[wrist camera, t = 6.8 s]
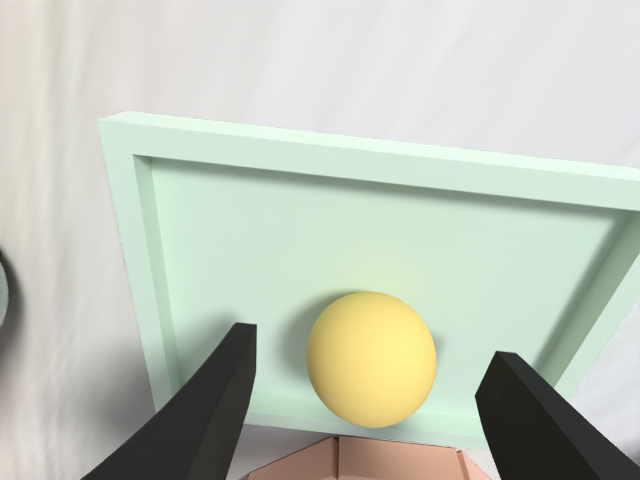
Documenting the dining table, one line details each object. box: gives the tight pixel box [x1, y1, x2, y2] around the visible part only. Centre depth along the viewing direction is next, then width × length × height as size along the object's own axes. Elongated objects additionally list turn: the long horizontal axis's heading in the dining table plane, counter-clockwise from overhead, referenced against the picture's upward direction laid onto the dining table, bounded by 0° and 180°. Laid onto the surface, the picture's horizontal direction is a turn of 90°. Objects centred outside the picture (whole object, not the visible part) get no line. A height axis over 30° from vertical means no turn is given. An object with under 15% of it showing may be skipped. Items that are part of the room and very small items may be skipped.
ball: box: [306, 291, 437, 428], centre depth 11 cm, size 4×4×4 cm
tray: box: [96, 111, 640, 450], centre depth 13 cm, size 16×12×2 cm
